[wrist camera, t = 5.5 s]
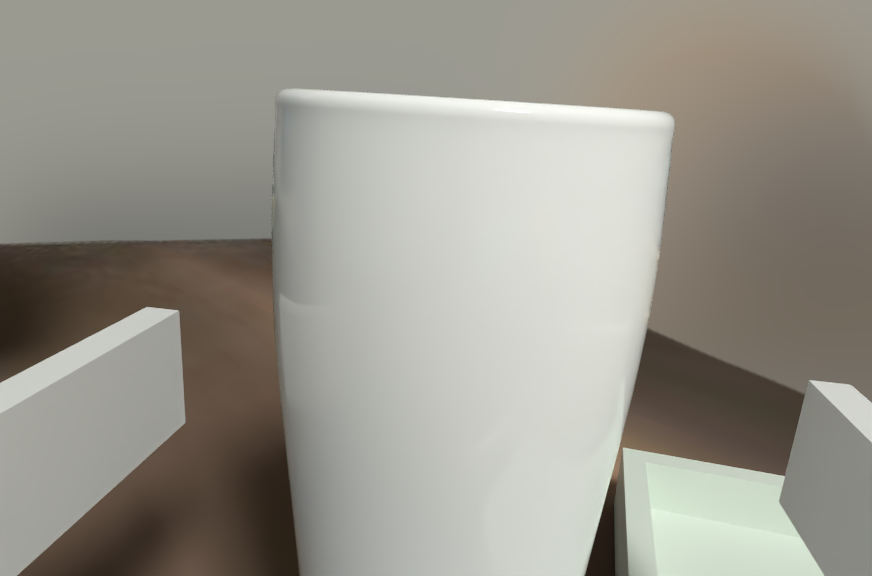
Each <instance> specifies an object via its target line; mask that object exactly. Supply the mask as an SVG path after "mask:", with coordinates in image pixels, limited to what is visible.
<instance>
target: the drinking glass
mask: <svg viewBox="0 0 872 576" xmlns="http://www.w3.org/2000/svg"><path fill="white" fill-rule="evenodd" d="M674 129H675V121H674V118H673V117H672V115H671V114H670V113H668V112H661V111H648V110H634V109H619V108H604V107H589V106H574V105H558V104H541V103H527V102H526V103H525V102H511V101H494V100H478V99H462V98H447V97H431V96H415V95H414V96H413V95H398V94H381V93H365V92H347V91H331V90H329V91H328V90H313V89H294V88H284V89H282V90H280V91H279V92H278V93H277V95H276V99H275V134H274V155H273V180H272V182H273V184H272V292H273V314H274V332H275V345H276V359H277V369H278V380H279V390H280V400H281V410H282V419H283V428H284V438H285V447H286V456H287V465H288V474H289V484H290V493H291V502H292V511H293V520H294V530H295V539H296V549H297V558H298V568H299V576H585V574H586V570H587V566H588V562H589V559H590V555H591V551H592V547H593V543H594V539H595V536H596V532H597V528H598V524H599V521H600V517H601V513H602V509H603V506H604V502H605V498H606V494H607V491H608V487H609V483H610V479H611V475H612V472H613V468H614V464H615V460H616V457H617V453H618V449H619V445H620V441H621V438H622V434H623V430H624V426H625V422H626V418H627V414H628V410H629V406H630V402H631V399H632V395H633V391H634V387H635V382H636V378H637V373H638V369H639V365H640V360H641V356H642V351H643V346H644V341H645V336H646V331H647V326H648V321H649V315H650V310H651V304H652V299H653V293H654V287H655V281H656V274H657V267H658V261H659V254H660V247H661V240H662V233H663V225H664V216H665V208H666V199H667V190H668V181H669V171H670V161H671V151H672V141H673V135H674Z"/></svg>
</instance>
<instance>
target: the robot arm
mask: <svg viewBox="0 0 872 576" xmlns="http://www.w3.org/2000/svg"><path fill="white" fill-rule="evenodd" d="M184 423H185V407H184V390H183V372H182V355H181V337H180V320H179V311H177V310H168V309H159V308H150V307H146V308H144V309H142V310H140V311H138V312H136V313H134V314H132V315H131V316H129V317H127V318H125V319H123V320H121V321H119V322H117V323H115V324H113V325H111V326H109V327H107V328H105V329H104V330H102V331H100V332H98V333H96V334H94V335H92V336H90V337H88V338H86V339H84V340H82V341H80V342H78V343H77V344H75V345H73V346H71V347H69V348H67V349H65V350H63V351H61V352H59V353H57V354H55V355H53V356H51V357H50V358H48V359H46V360H44V361H42V362H40V363H38V364H36V365H34V366H32V367H30V368H28V369H26V370H25V371H23V372H21V373H19V374H17V375H15V376H13V377H11V378H9V379H7V380H5V381H3V382H1V383H0V576H17V575H18V574H19V573H20V572H21V571H23V570H24V569H25V568H26V567H27V566H28V565H29V564H30V563H31V562H32V561H34V560H35V559H36V558H37V557H38V556H39V555H40V554H41V553H42V552H43V551H45V550H46V549H47V548H48V547H49V546H50V545H51V544H52V543H53V542H54V541H56V540H57V539H58V538H59V537H60V536H61V535H62V534H63V533H64V532H65V531H67V530H68V529H69V528H70V527H71V526H72V525H73V524H74V523H75V522H76V521H78V520H79V519H80V518H81V517H82V516H83V515H84V514H85V513H86V512H87V511H89V510H90V509H91V508H92V507H93V506H94V505H95V504H96V503H97V502H99V501H100V500H101V499H102V498H103V497H104V496H105V495H106V494H107V493H108V492H110V491H111V490H112V489H113V488H114V487H115V486H116V485H117V484H118V483H119V482H121V481H122V480H123V479H124V478H125V477H126V476H127V475H128V474H129V473H130V472H132V471H133V470H134V469H135V468H136V467H137V466H138V465H139V464H140V463H141V462H143V461H144V460H145V459H146V458H147V457H148V456H149V455H150V454H151V453H152V452H154V451H155V450H156V449H157V448H158V447H159V446H160V445H161V444H162V443H164V442H165V441H166V440H167V439H168V438H169V437H170V436H171V435H172V434H173V433H175V432H176V431H177V430H178V429H179V428H180V427H181V426H182V425H183V424H184ZM779 503H780V505H781V506H782V508H783V509H784V511H785V513H786V514H787V516H788V518H789V519H790V521H791V522H792V524H793V526H794V527H795V529H796V530H797V532H798V534H799V535H800V537H801V539H802V540H803V542H804V543H805V545H806V547H807V548H808V550H809V552H810V553H811V555H812V556H813V558H814V560H815V561H816V563H817V564H818V566H819V568H820V569H821V571H822V573H823V574H824V576H872V403H871V402H870V401H869V400H868V399H866V398H865V397H864V396H863V395H862V394H861V393H860V392H858V391H857V390H856V389H855V388H854V387H853V386H851V385H847V384H839V383H830V382H821V381H812V380H809V382H808V386H807V390H806V394H805V398H804V402H803V406H802V410H801V414H800V418H799V422H798V426H797V430H796V434H795V439H794V443H793V447H792V451H791V455H790V459H789V463H788V467H787V471H786V475H785V479H784V483H783V487H782V491H781V495H780V499H779Z"/></svg>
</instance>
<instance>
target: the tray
mask: <svg viewBox="0 0 872 576" xmlns="http://www.w3.org/2000/svg"><path fill="white" fill-rule="evenodd" d="M784 479H785V476H780V475H774V474H769V473H763V472H758V471H752V470H746V469H741V468H735V467H729V466H724V465H718V464H713V463H707V462H701V461H696V460H690V459H684V458H679V457H673V456H668V455H662V454H656V453H651V452H645V451H639V450H634V449H628V448H623V450H622V456H621V462H620V468H619V475H618V481H617V487H616V493H615V499H614V540H615V576H824V574H823V573H822V571H821V569H820V568H819V566H818V564H817V563H816V561H815V560H814V558H813V556H812V555H811V553H810V552H809V550H808V548H807V547H806V545H805V543H804V542H803V540H802V539H801V537H800V535H799V534H798V532H797V530H796V529H795V527H794V526H793V524H792V522H791V521H790V519H789V518H788V516H787V514H786V513H785V511H784V509H783V508H782V506H781V505H780V503H779V499H780V495H781V491H782V487H783V483H784Z"/></svg>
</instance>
